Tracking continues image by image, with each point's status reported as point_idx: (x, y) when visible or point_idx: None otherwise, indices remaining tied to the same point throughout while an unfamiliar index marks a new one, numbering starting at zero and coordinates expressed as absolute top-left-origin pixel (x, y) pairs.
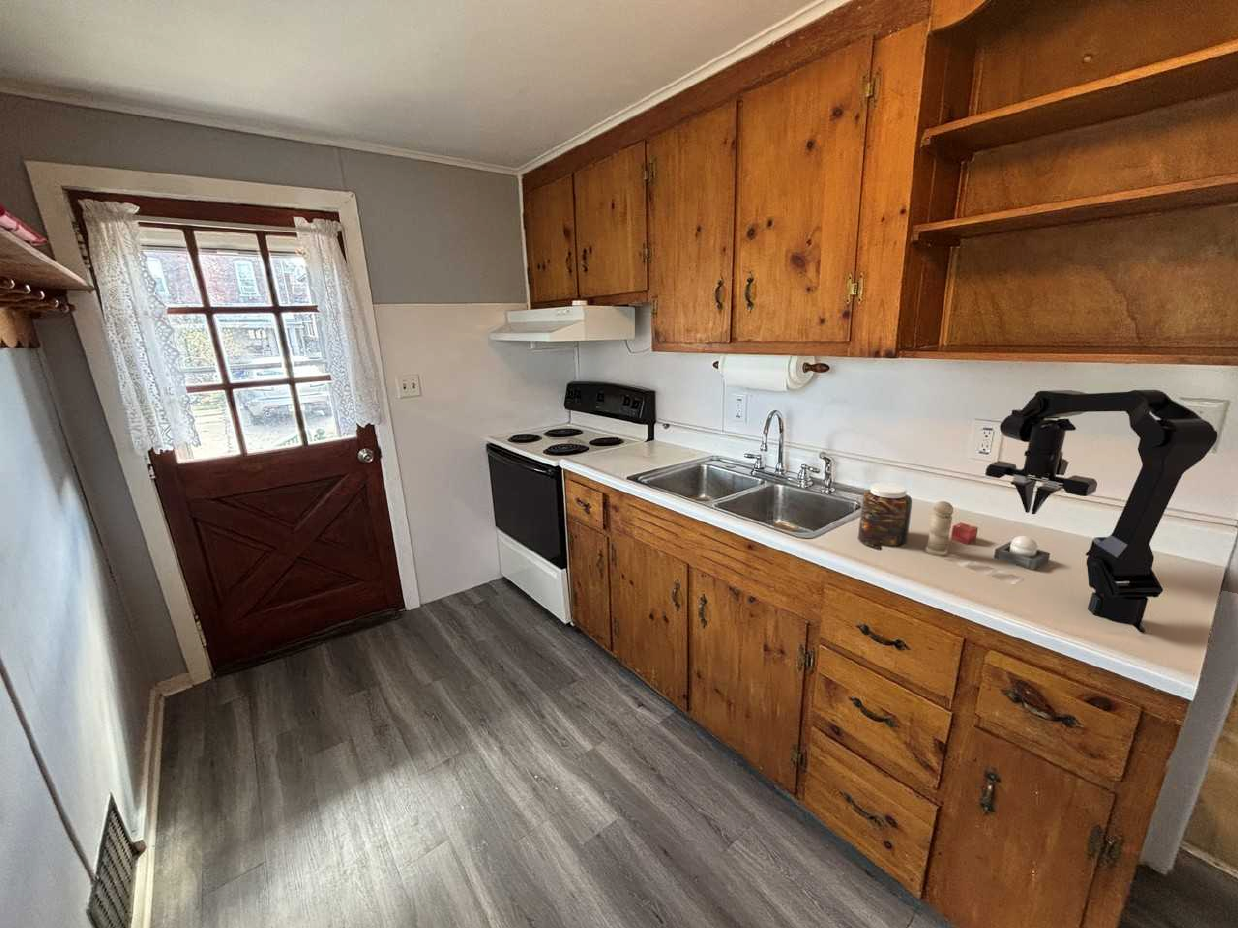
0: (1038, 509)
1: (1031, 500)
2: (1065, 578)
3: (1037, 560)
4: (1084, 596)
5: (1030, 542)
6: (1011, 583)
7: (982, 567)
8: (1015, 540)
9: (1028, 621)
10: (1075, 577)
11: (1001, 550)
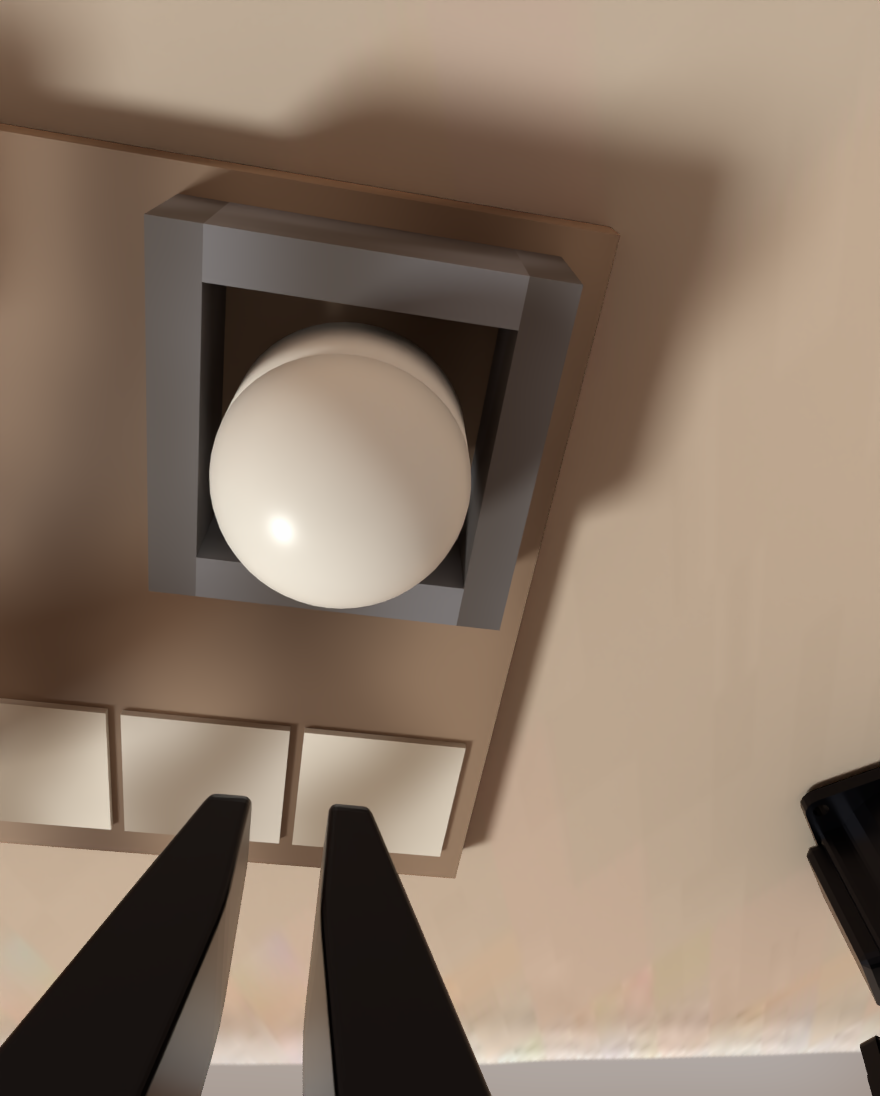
0: (400, 887)
1: (166, 1076)
2: (703, 412)
3: (509, 589)
4: (807, 637)
5: (409, 577)
6: (425, 853)
7: (203, 767)
8: (259, 577)
9: (567, 1034)
10: (777, 322)
11: (198, 582)
